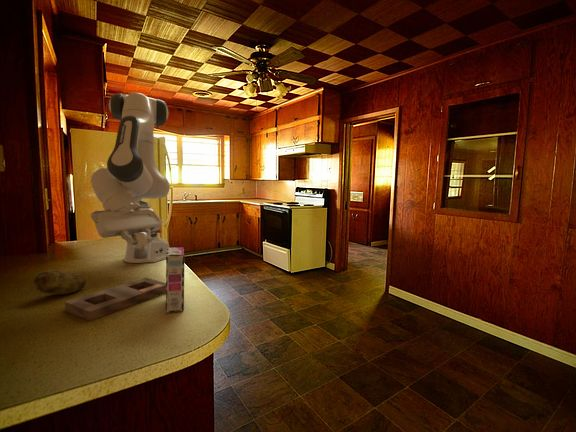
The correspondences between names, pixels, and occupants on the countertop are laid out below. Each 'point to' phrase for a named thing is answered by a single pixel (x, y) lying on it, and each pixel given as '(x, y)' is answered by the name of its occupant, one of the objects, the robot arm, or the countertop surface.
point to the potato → (58, 282)
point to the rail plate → (114, 298)
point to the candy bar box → (175, 279)
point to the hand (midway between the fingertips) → (142, 242)
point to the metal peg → (141, 245)
